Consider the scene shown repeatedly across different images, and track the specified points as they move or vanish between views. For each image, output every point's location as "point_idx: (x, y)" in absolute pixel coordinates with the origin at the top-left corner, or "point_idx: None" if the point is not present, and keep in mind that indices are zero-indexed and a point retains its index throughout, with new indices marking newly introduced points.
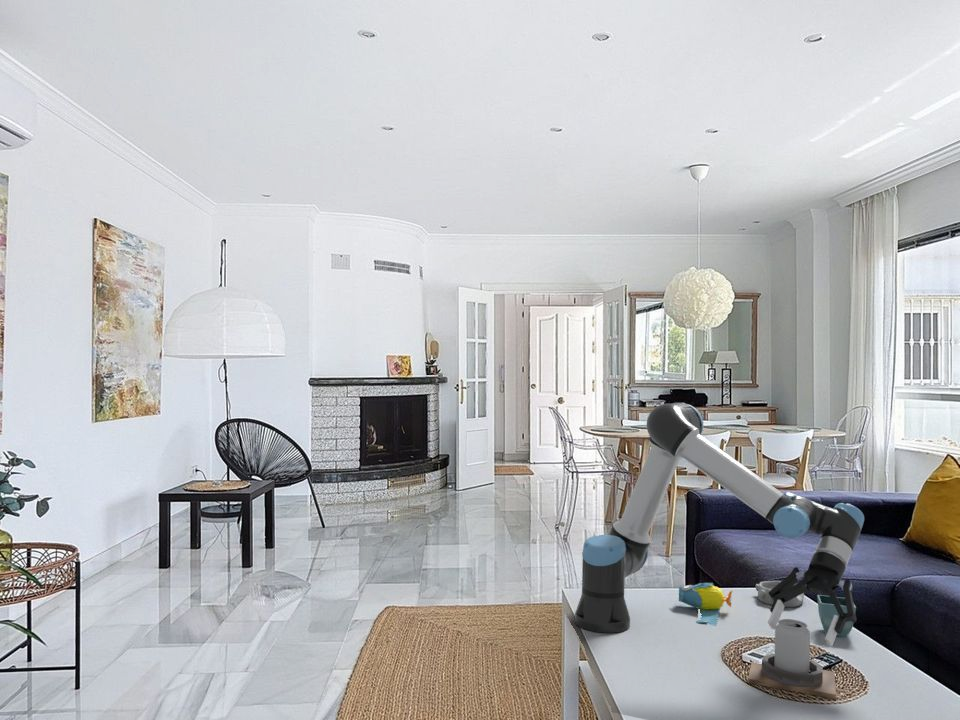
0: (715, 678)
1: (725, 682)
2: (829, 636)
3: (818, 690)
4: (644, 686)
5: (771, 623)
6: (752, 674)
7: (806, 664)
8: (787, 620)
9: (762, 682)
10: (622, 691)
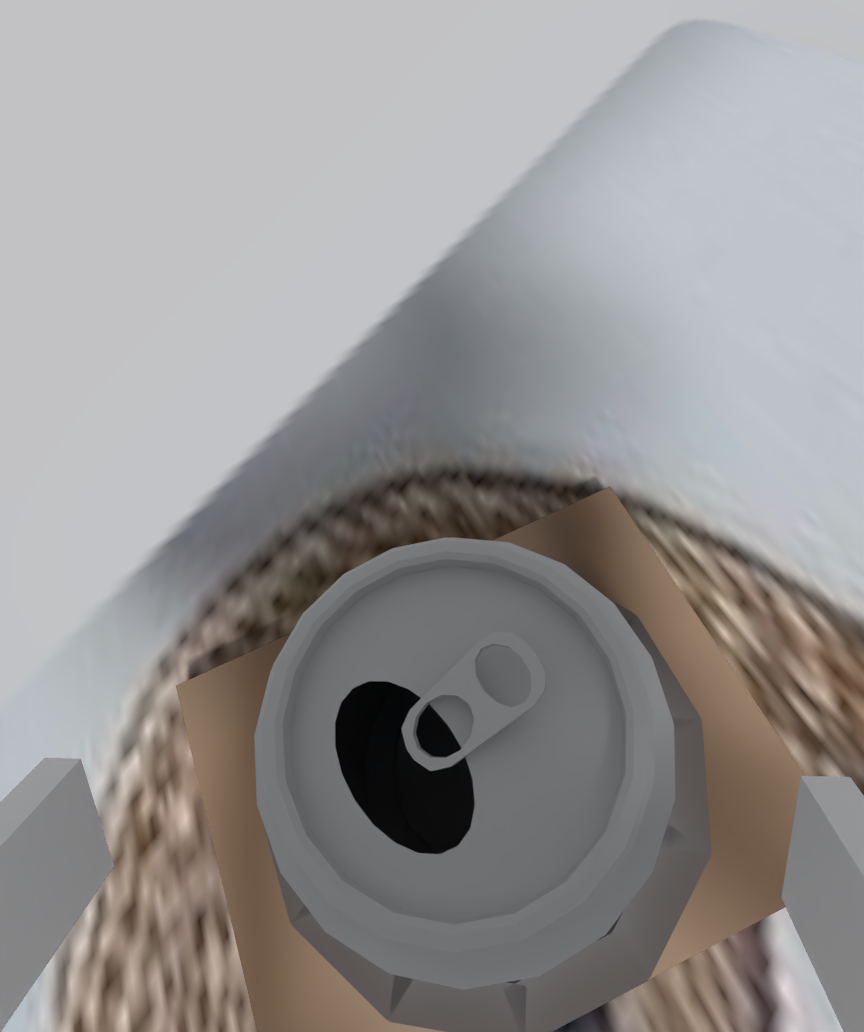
0: (742, 414)
1: (676, 414)
2: (8, 799)
3: (267, 660)
4: (824, 139)
5: (800, 799)
6: (633, 555)
7: (347, 736)
8: (594, 847)
9: (538, 521)
10: (822, 68)
